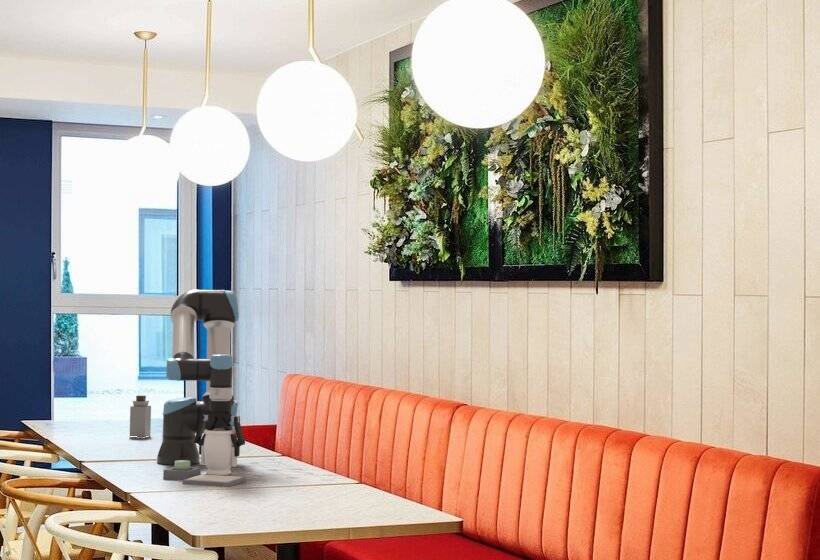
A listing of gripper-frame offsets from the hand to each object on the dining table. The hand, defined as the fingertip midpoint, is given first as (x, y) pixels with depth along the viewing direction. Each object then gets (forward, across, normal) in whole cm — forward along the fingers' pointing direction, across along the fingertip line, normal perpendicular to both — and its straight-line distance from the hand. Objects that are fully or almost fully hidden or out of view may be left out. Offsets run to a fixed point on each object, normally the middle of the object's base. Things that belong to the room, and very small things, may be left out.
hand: (218, 465), depth 378 cm
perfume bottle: (+3, -79, +88) cm, 118 cm away
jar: (+3, 0, 0) cm, 3 cm away
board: (+3, +7, -18) cm, 19 cm away
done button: (+1, -7, -13) cm, 15 cm away
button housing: (+3, -7, -13) cm, 15 cm away
